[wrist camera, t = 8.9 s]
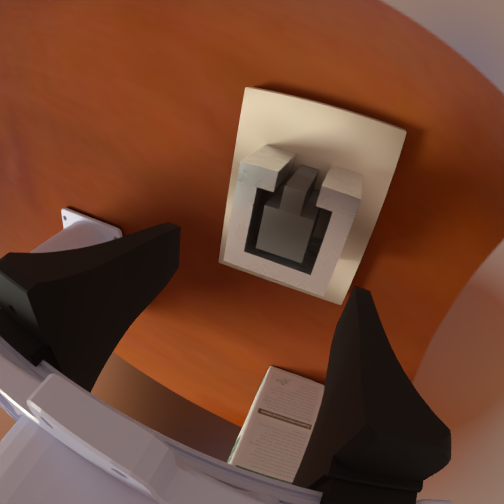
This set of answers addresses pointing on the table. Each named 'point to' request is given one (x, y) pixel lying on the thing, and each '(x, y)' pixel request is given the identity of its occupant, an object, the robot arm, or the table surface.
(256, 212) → the grey slotted channel block
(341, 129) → the keyed post base
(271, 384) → the syrup box
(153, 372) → the table surface
